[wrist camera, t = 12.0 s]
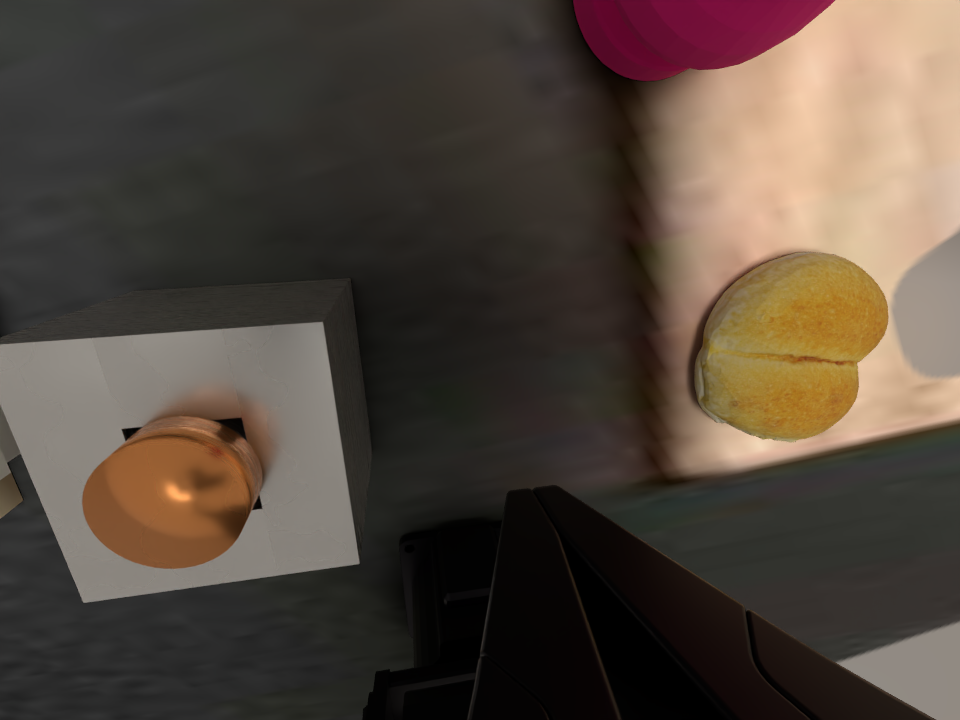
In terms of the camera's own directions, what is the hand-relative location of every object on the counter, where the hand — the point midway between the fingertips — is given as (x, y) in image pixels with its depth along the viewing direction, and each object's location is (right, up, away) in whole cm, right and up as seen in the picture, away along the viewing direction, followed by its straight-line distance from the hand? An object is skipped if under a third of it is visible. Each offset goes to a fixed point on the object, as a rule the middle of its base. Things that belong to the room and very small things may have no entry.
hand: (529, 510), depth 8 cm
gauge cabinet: (-10, +2, +12) cm, 15 cm away
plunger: (-9, +1, +9) cm, 13 cm away
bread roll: (+14, +3, +16) cm, 21 cm away
